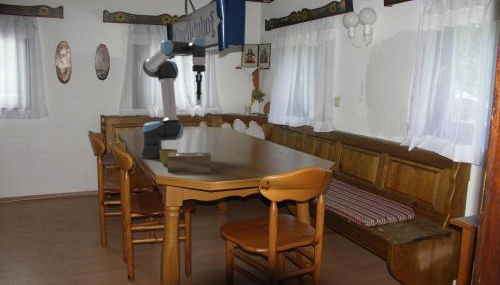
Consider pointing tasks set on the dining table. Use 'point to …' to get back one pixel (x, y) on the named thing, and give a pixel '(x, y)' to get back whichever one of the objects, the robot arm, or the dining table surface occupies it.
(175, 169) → the tan grooved block
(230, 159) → the dining table surface
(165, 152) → the flower pot
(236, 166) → the dining table surface
